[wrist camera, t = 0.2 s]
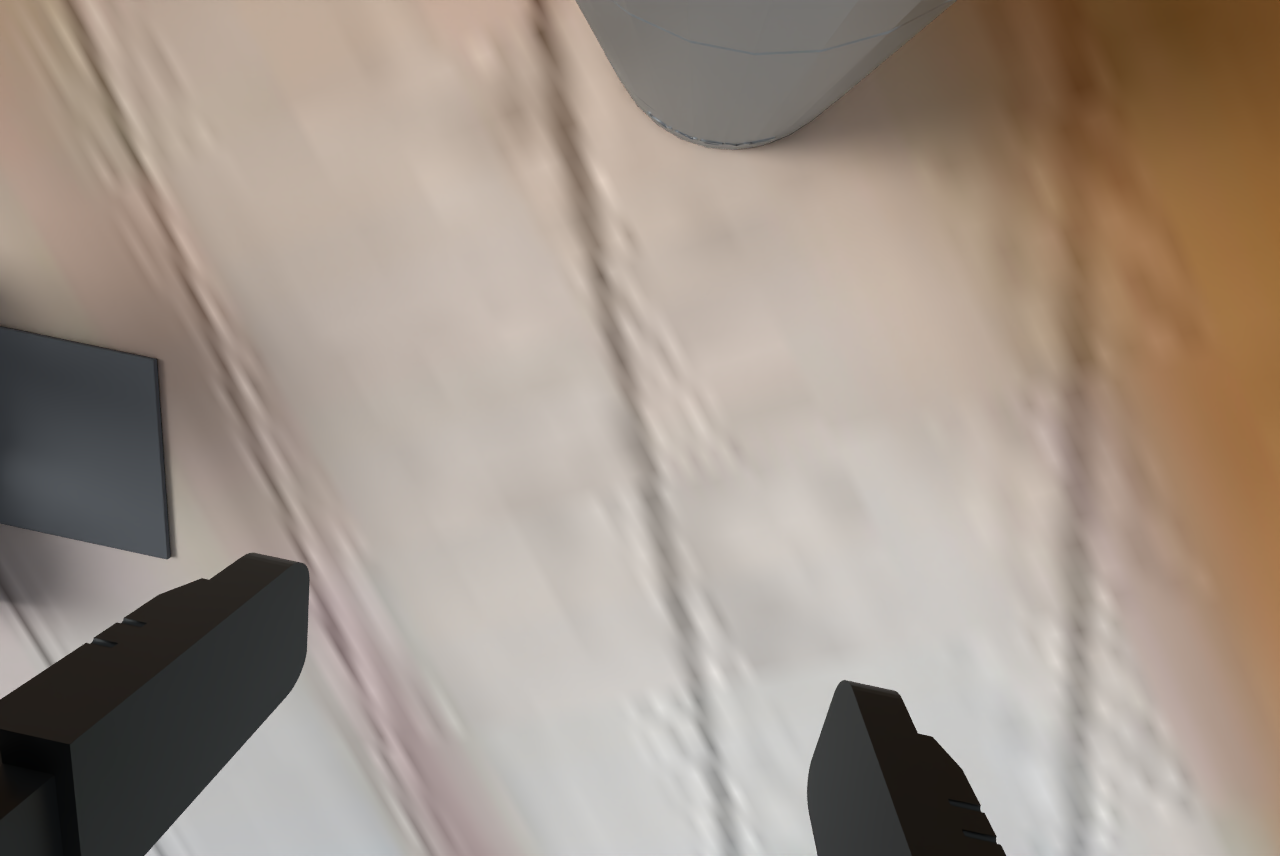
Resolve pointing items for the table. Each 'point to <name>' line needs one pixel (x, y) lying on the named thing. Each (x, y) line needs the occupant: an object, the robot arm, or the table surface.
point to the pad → (81, 443)
